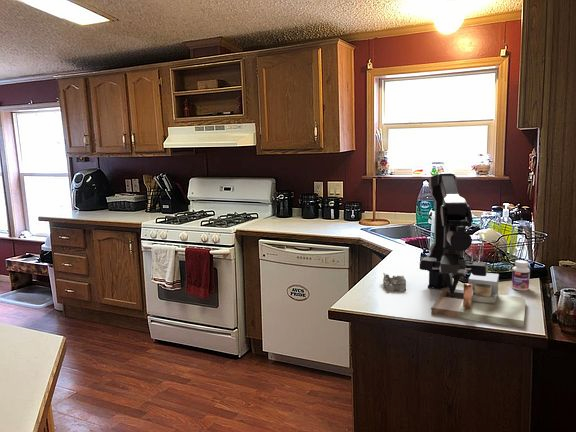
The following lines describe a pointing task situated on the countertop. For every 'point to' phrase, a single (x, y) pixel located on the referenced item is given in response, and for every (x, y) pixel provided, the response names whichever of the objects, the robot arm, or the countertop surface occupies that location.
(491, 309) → the deck
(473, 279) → the tunnel
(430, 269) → the robot arm
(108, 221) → the countertop surface
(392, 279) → the grey stone castle ruin
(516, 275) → the pill bottle
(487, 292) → the maple block
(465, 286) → the sled
